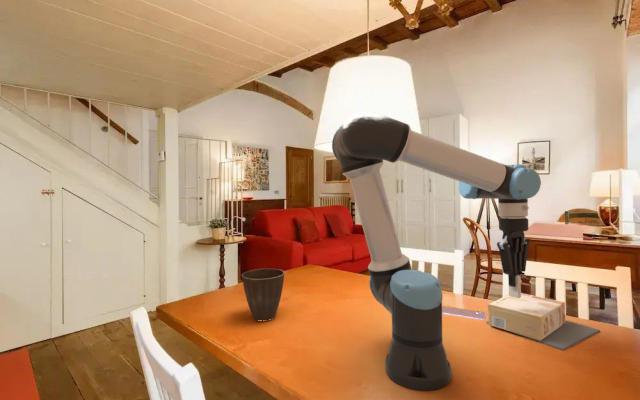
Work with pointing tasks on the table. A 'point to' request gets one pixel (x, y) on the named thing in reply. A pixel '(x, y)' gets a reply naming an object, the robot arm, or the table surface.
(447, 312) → the mobile phone
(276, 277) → the plant pot
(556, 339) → the placemat
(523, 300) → the coffeecake box
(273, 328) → the table surface
